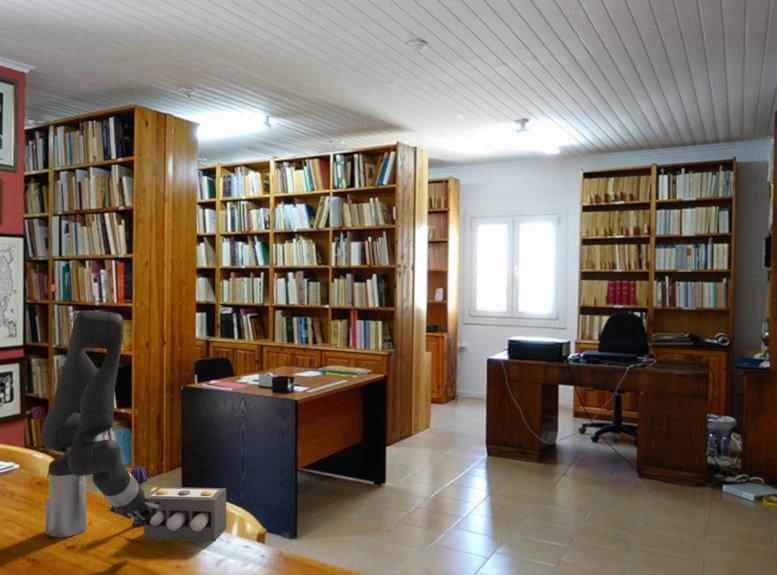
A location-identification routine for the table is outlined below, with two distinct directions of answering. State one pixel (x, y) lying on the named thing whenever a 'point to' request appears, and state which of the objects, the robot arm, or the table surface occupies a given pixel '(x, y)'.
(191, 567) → the table surface
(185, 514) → the button middle
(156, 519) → the button left
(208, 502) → the button box
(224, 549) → the table surface
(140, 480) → the toy lamp
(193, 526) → the button right
